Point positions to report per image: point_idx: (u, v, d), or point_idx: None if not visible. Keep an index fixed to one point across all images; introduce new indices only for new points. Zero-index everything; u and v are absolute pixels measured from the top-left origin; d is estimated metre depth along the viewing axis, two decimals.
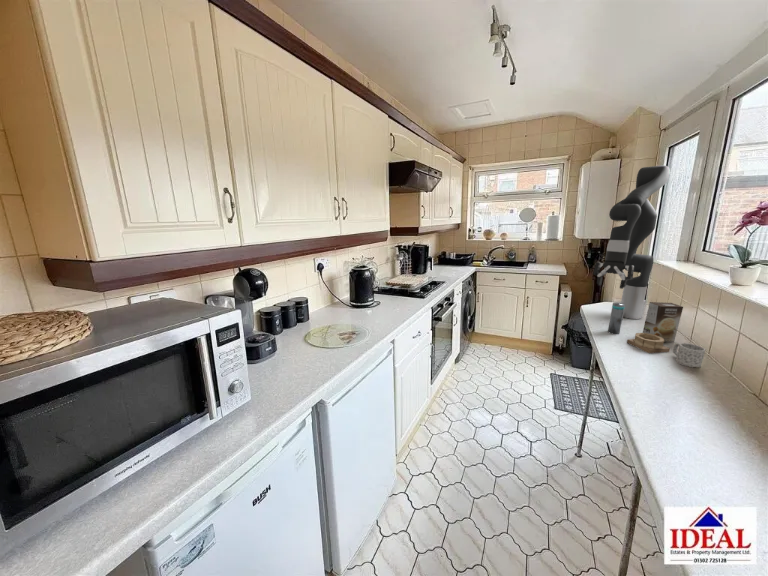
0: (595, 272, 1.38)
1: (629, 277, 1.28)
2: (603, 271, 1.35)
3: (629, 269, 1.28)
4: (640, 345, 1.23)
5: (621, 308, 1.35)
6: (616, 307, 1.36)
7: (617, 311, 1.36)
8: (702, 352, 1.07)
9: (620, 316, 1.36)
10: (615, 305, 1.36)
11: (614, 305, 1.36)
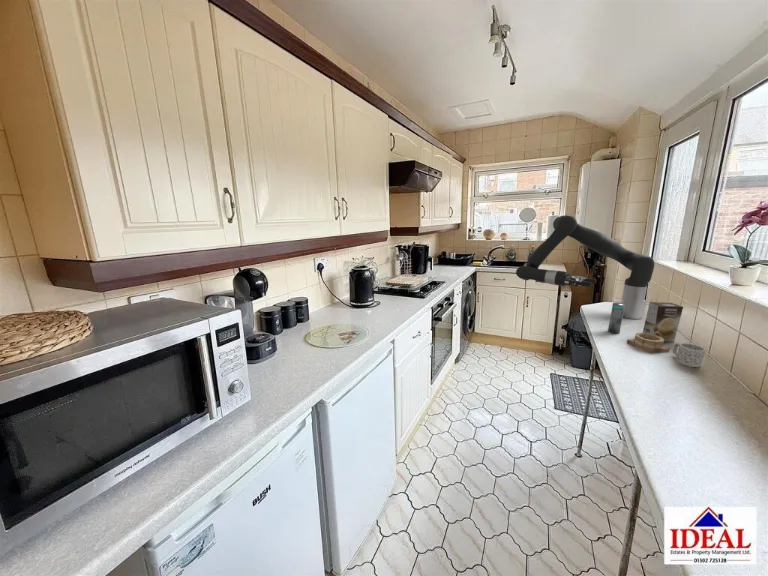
0: None
1: None
2: None
3: None
4: (640, 345, 1.23)
5: (621, 308, 1.35)
6: (616, 307, 1.36)
7: (617, 311, 1.36)
8: (702, 352, 1.07)
9: (620, 316, 1.36)
10: (615, 305, 1.36)
11: (614, 305, 1.36)
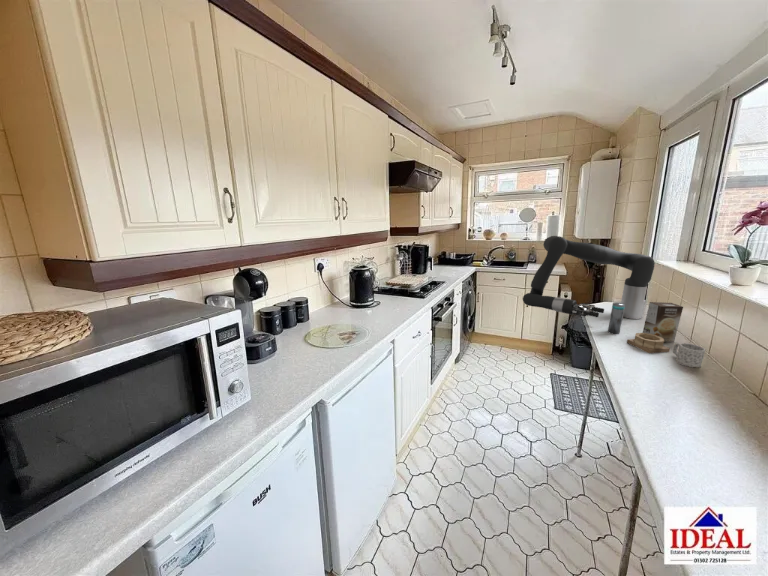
0: None
1: None
2: None
3: None
4: (640, 345, 1.23)
5: (621, 308, 1.35)
6: (616, 307, 1.36)
7: (617, 311, 1.36)
8: (702, 352, 1.07)
9: (620, 316, 1.36)
10: (615, 305, 1.36)
11: (614, 305, 1.36)
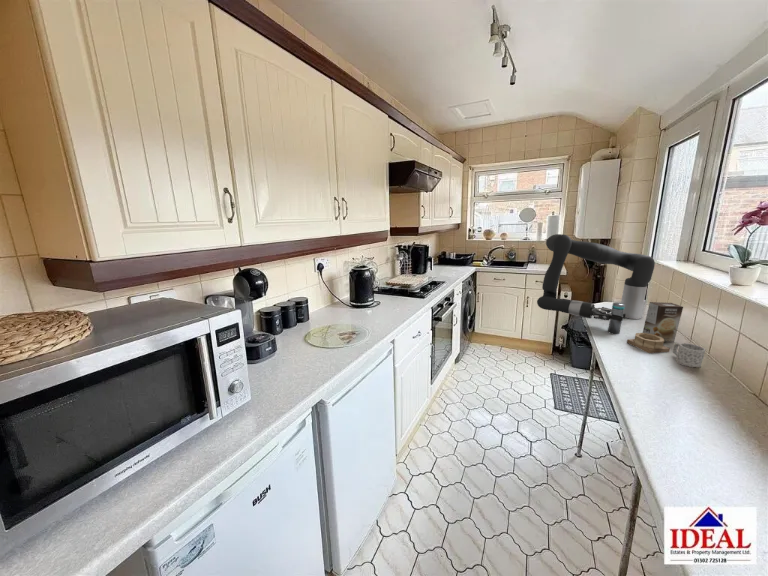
0: None
1: None
2: None
3: None
4: (640, 345, 1.23)
5: (621, 308, 1.35)
6: (616, 307, 1.36)
7: (617, 311, 1.36)
8: (702, 352, 1.07)
9: None
10: (615, 305, 1.36)
11: (614, 305, 1.36)
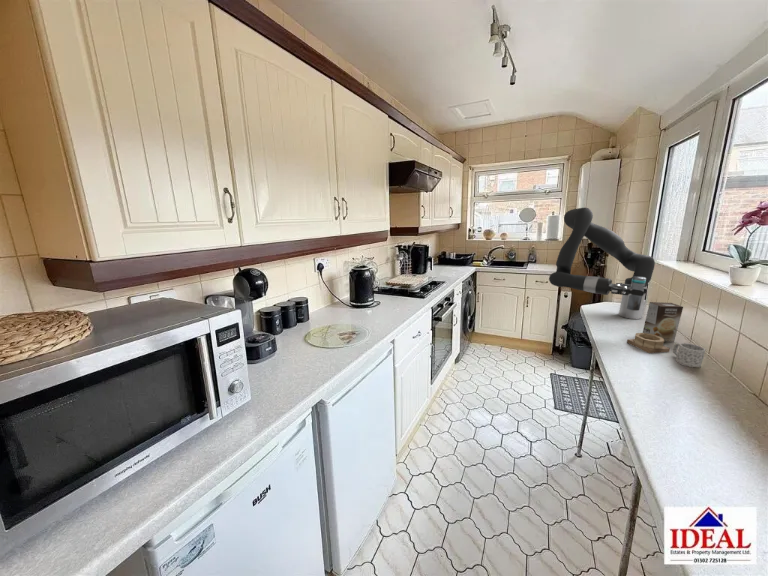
0: None
1: (625, 294, 1.27)
2: None
3: None
4: (640, 345, 1.23)
5: (641, 282, 1.24)
6: (636, 281, 1.25)
7: (637, 285, 1.25)
8: (702, 352, 1.07)
9: None
10: (635, 279, 1.26)
11: (634, 279, 1.26)
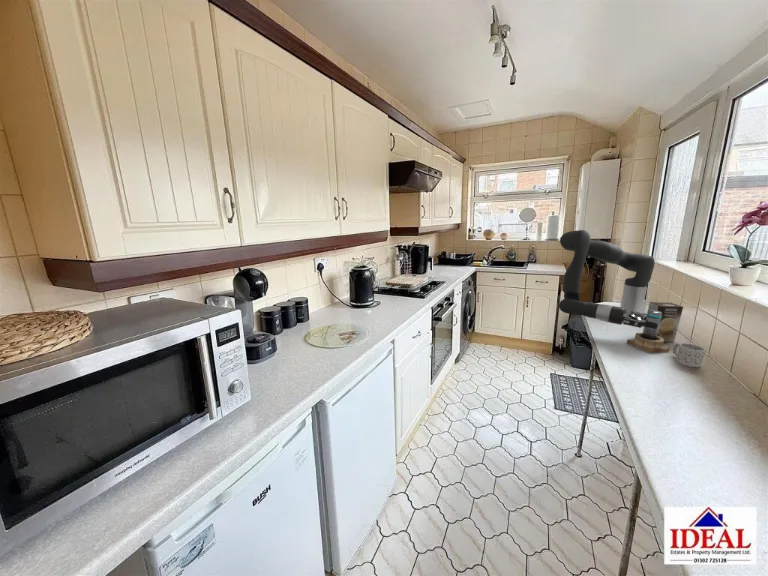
0: None
1: None
2: None
3: None
4: (640, 345, 1.23)
5: (657, 317, 1.19)
6: (652, 316, 1.20)
7: (653, 320, 1.20)
8: (702, 352, 1.07)
9: None
10: (651, 313, 1.20)
11: (649, 313, 1.21)
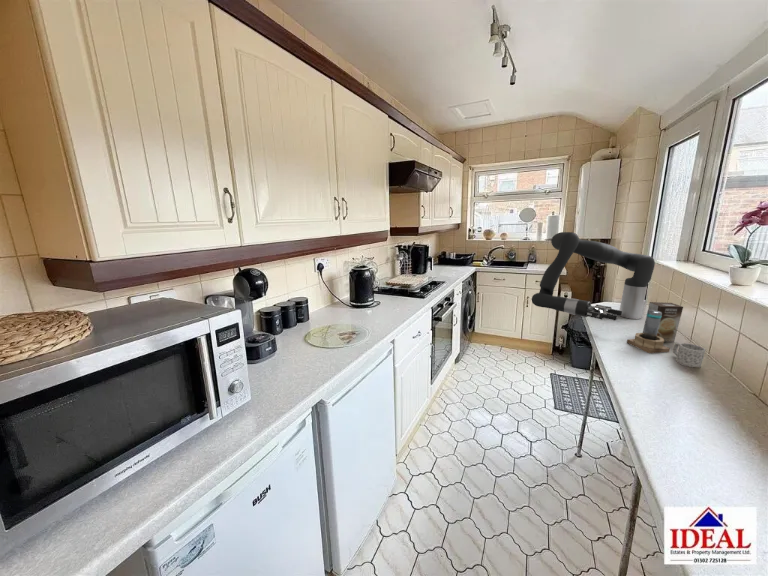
0: None
1: None
2: None
3: None
4: (640, 345, 1.23)
5: (657, 317, 1.19)
6: (652, 316, 1.20)
7: (653, 320, 1.20)
8: (702, 352, 1.07)
9: (656, 326, 1.20)
10: (651, 313, 1.20)
11: (649, 313, 1.21)
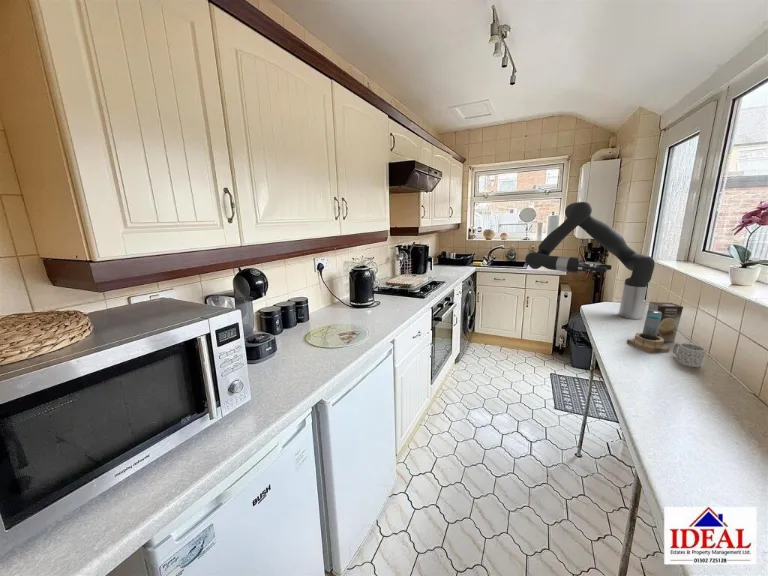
0: None
1: None
2: None
3: None
4: (640, 345, 1.23)
5: (657, 317, 1.19)
6: (652, 316, 1.20)
7: (653, 320, 1.20)
8: (702, 352, 1.07)
9: (656, 326, 1.20)
10: (650, 313, 1.20)
11: (649, 313, 1.21)
